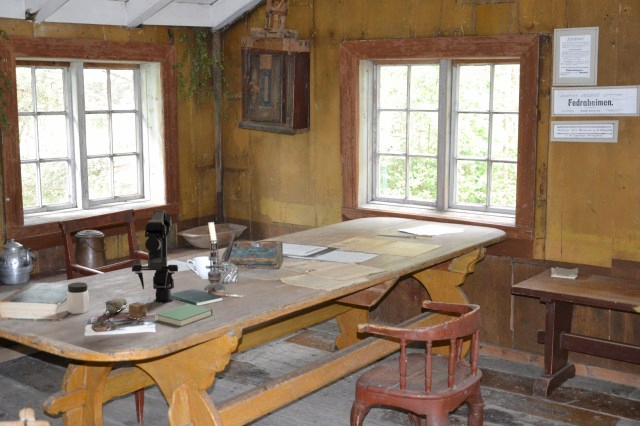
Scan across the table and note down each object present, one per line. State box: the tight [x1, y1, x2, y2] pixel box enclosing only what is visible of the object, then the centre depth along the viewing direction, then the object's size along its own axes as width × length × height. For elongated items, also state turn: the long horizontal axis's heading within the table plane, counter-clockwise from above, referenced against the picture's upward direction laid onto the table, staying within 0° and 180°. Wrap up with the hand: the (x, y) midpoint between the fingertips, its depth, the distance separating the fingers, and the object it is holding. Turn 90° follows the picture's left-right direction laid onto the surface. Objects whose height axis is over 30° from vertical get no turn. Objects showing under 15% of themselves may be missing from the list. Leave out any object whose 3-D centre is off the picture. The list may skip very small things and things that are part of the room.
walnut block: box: [128, 301, 147, 319], centre depth 352 cm, size 5×5×6 cm
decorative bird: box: [102, 296, 128, 317], centre depth 357 cm, size 5×16×8 cm, turn 165°
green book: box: [155, 303, 213, 327], centre depth 354 cm, size 20×14×3 cm
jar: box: [66, 281, 90, 315], centre depth 359 cm, size 9×8×12 cm
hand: (154, 289), depth 342 cm, fingers open, 9 cm apart
